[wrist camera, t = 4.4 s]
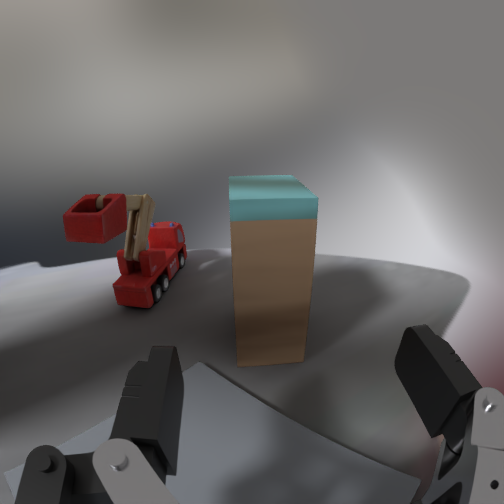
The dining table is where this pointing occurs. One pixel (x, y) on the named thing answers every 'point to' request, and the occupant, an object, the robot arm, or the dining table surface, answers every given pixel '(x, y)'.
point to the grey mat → (254, 454)
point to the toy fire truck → (130, 243)
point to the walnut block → (271, 267)
